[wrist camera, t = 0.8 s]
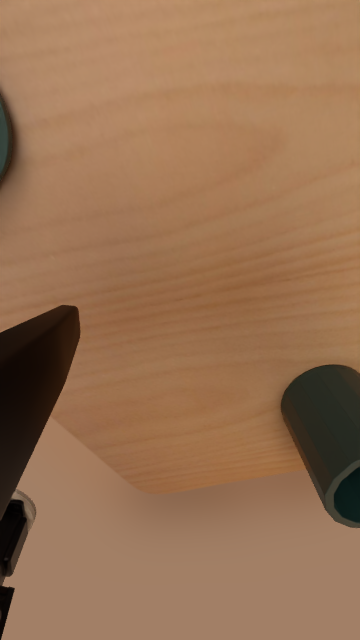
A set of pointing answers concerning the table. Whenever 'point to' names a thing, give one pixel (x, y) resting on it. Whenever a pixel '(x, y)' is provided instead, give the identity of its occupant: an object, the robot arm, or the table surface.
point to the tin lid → (4, 139)
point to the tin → (328, 435)
